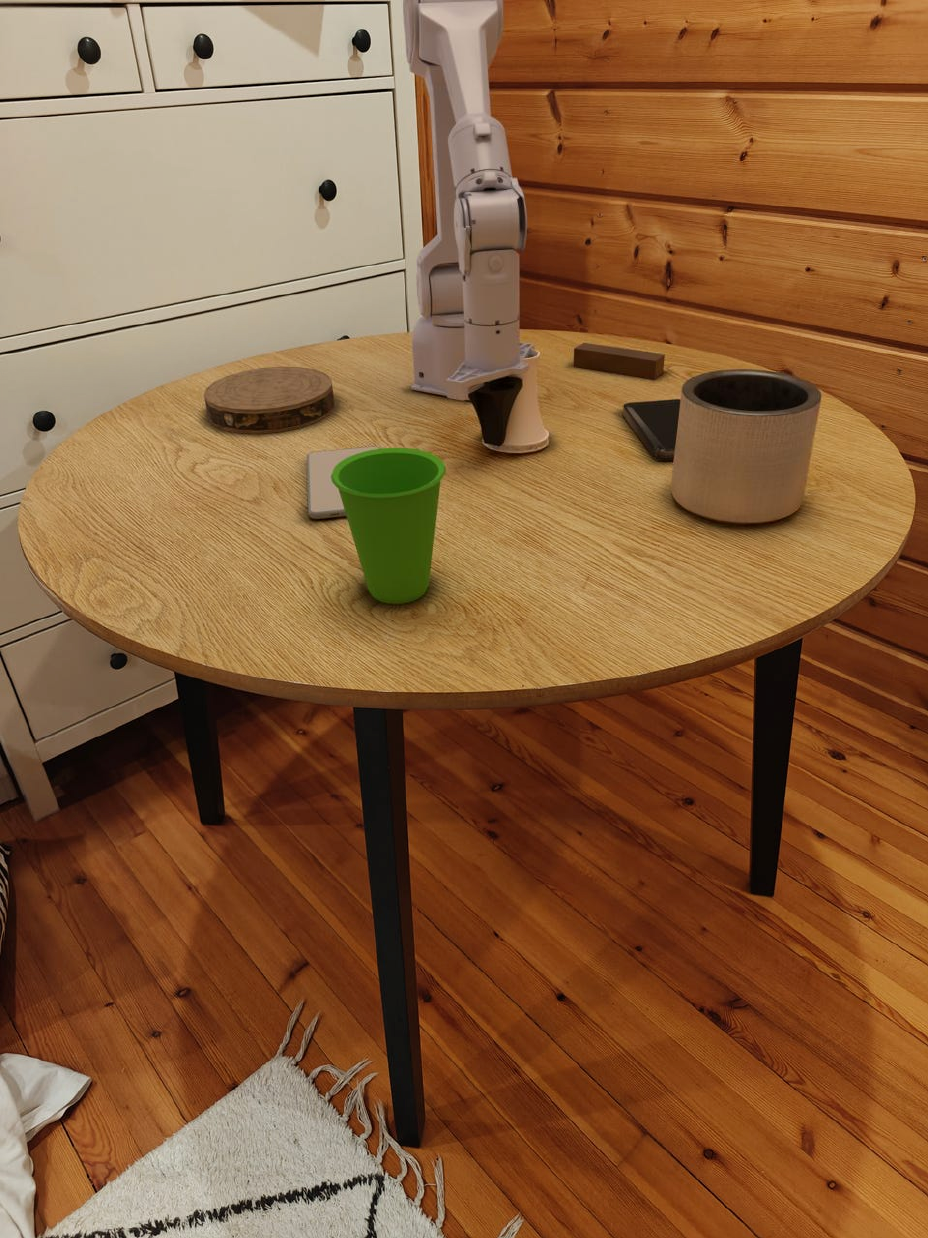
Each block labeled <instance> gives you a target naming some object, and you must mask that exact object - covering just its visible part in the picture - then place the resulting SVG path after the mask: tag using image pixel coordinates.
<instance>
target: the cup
mask: <svg viewBox="0 0 928 1238" xmlns="http://www.w3.org/2000/svg"><path fill="white" fill-rule="evenodd" d="M380 448H381V447H380ZM446 471H447V469H446V466H445V464H444V462H443V460H442V459H440V458H439V457H438V456H437V455H435V454H433V453H431V452H429V451H426V450H421V449H419V448H417V449H416V448H409V447H383V448H381V449H375V450H369V451H365V452H361V453H357V454H355V455H352V456H350V457H348V458H346V459H344V460H343V461H341V462H339V463H338V464H337V465H336V467H335V468H334V470H333V472H332V475H331V479H332V483H333V484H334V485H335V486H336V487H337V488H338V489H339V493H340V496H341V499H342V503H343V506H344V510H345V513H346V516H345V517H346V520H347V522H348V526H349V529H350V533H351V536H352V540H353V543H354V547H355V550H356V553H357V556H358V560H359V563H360V566H361V571H362V574H363V576H364V581H365V584H366V587H367V591H369V593H370V594H371V596H372V597H373V598H374V599H375V600H377V601H379V602H382V603H385V604H392V605H398V604H399V605H400V604H406V603H411V602H413V601H416V600H418V599H420V598H421V597H423V596H424V595H425V594H426V592H427V590H428V587H429V586H430V579H431V571H432V570H431V569H432V561H433V553H434V545H435V544H434V542H435V534H436V526H437V525H436V524H437V516H438V507H439V497H440V488H441V482H442V479H443V478H444V477H445V475H446Z"/></svg>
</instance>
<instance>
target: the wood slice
mask: <svg viewBox="0 0 928 1238" xmlns="http://www.w3.org/2000/svg"><path fill="white" fill-rule="evenodd" d="M203 399H204V404H205V408H206V413H207V418H208V421H209V422H210V423H211V424H212V426H214V427H216V428H218V429H221V430H222V431H227V432H233V433H237V434H255V435H257V434H260V435H261V434H271V433H281V432H287V431H291V430H296V429H301V428H305V427H307V426H310V425H313V424H315V423H318V422H320V421H321V420H323V419H324V418H327V417H328V416H329V415H330V414H332V412H333V411H334V410H335V398H334V389H333V380H332V378H331V377H330V376H329V375H328V374H327V373H326V372H324V371H320V370H317V369H315V368H307V367H301V366H271V367H260V368H254V369H249V370H243V371H240V372H239V371H238V372H236V373H232V374H229V375H226V376H223V377H221V378H220V379H219V378H218V379H217V380H215V381H213V382H212V383H210V385H208V386H207V387H206V388H205V390H204V393H203Z"/></svg>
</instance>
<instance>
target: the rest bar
mask: <svg viewBox="0 0 928 1238" xmlns="http://www.w3.org/2000/svg"><path fill="white" fill-rule="evenodd" d="M665 357H666V354H664V353H657V352H650V351H643V350H637V349H631V348H624V347H623V348H622V347H617V346H610V345H601V344H594V343H588V342H583V343H581V344H579V345H578V346H575V347H574V348H573V367H576V368H583V369H589V370H594V371H601V372H605V373H606V372H607V373H612V374H619V375H626V376H632V377H637V378H645V379H649V380H656V379H657V378H658V377H660V376H661V375H663V374H664V371H665V360H666V359H665Z"/></svg>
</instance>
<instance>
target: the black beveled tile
mask: <svg viewBox="0 0 928 1238" xmlns="http://www.w3.org/2000/svg"><path fill="white" fill-rule="evenodd" d="M680 401H681V398H674V399H673V398H672V399H660V400H645V401H644V400H643V401H633V402H631V401H630V402H626V403H624V404H622V416H623V417H624V419H625V420H626V422H627V423H628V425H629V426H630V427H631V428H632V430H633V431H634V433H635V434H636V435H637V437H638V438H639V440H640V442H641V443H642V444H643V445H644V447H645V448H646V450H647V451H648V453H649V454H650V455H651V457H652V458H653V459H654V460H657V461H662V462H663V461H665V462H667V461H674V454H675V446H676V437H677V429H678V420H679V410H680Z"/></svg>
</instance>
